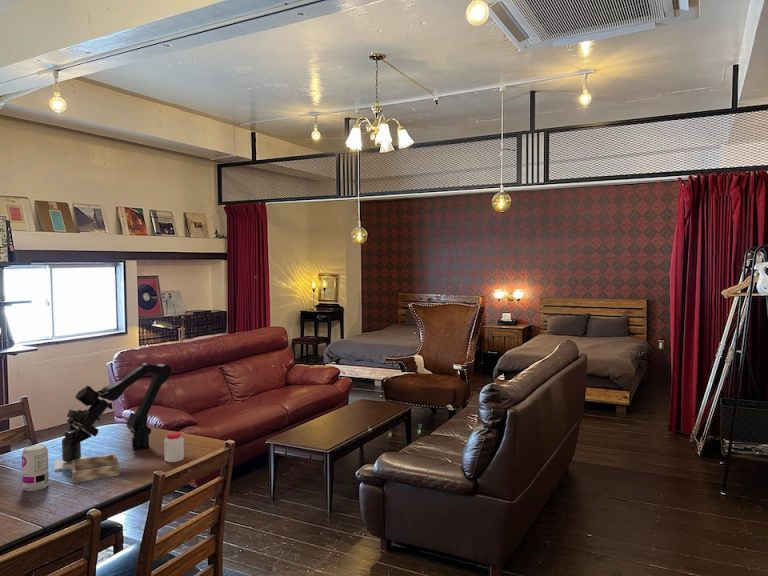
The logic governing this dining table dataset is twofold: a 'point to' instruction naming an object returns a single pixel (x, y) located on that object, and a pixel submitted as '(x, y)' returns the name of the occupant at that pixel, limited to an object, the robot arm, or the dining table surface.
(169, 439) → the pill bottle
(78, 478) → the crate
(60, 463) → the mat
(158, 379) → the robot arm
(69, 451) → the supplement bottle
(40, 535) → the dining table surface
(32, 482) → the supplement can
